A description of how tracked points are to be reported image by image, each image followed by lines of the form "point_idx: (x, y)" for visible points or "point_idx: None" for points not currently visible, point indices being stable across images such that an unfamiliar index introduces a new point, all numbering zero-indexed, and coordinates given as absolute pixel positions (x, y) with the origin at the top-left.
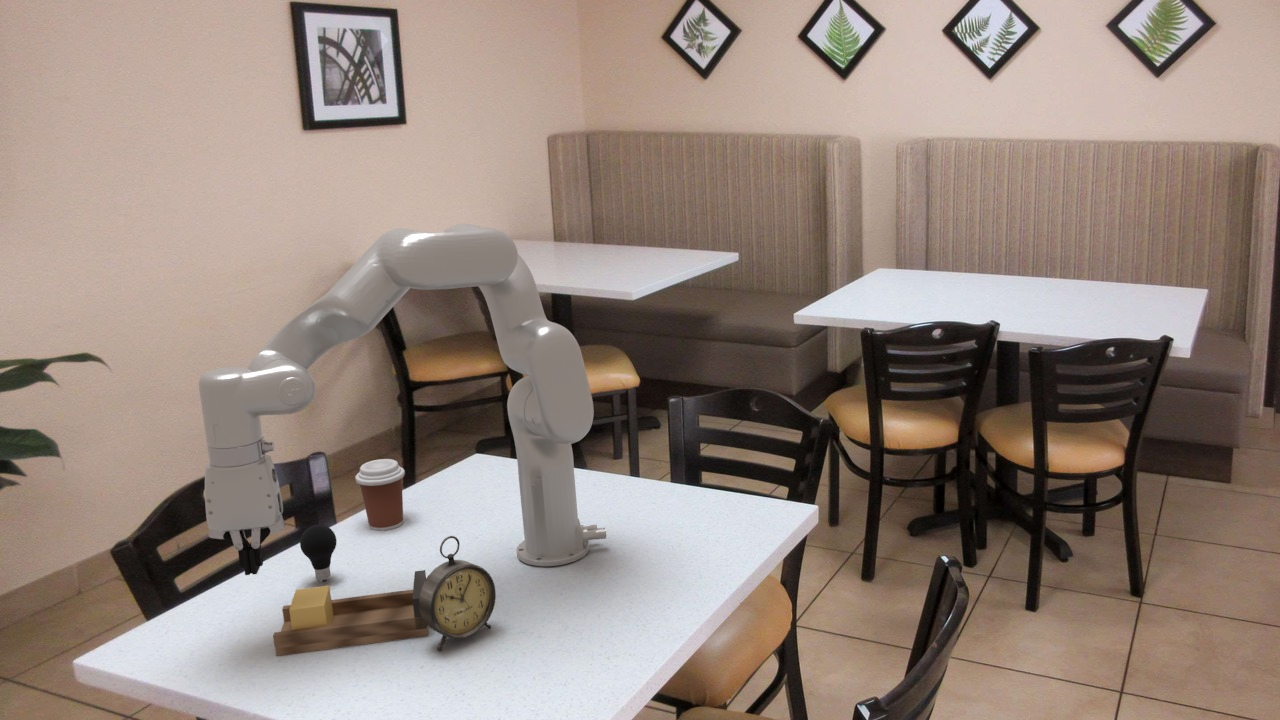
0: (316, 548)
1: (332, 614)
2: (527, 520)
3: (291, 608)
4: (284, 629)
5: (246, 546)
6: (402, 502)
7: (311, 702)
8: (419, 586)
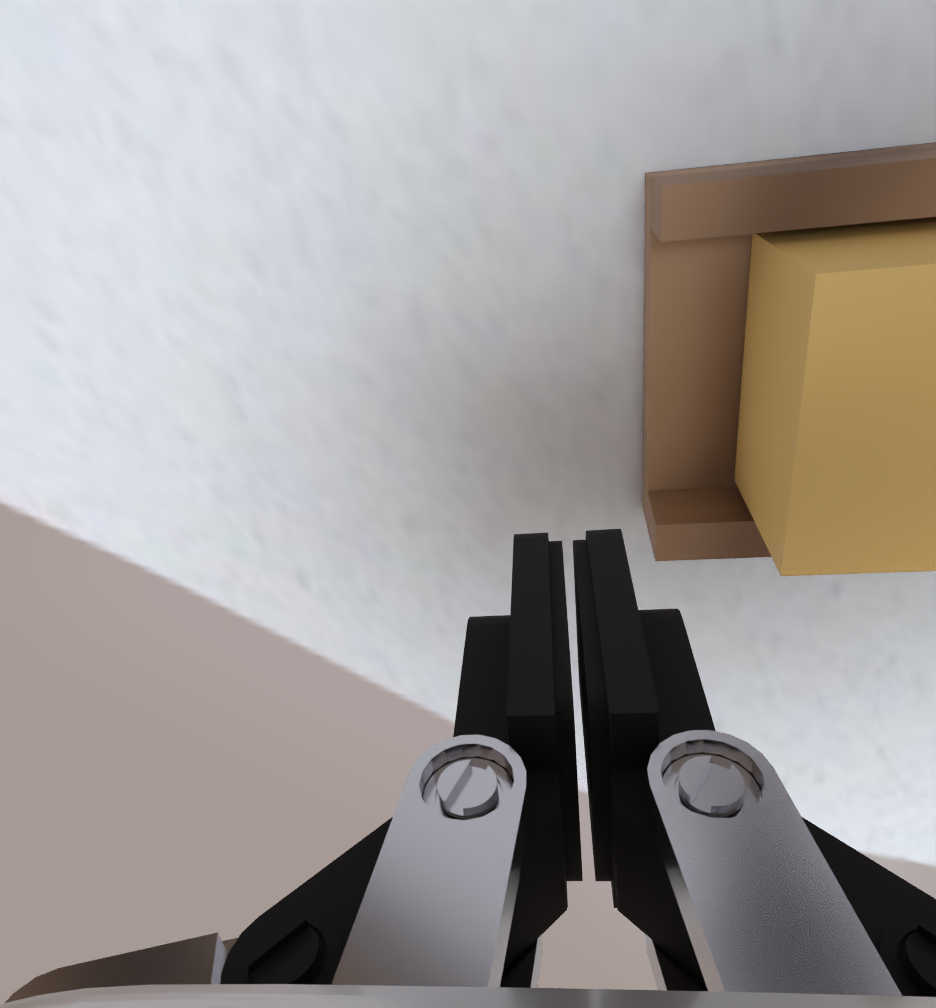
0: None
1: None
2: None
3: (794, 560)
4: (667, 338)
5: (564, 864)
6: None
7: (812, 812)
8: None
